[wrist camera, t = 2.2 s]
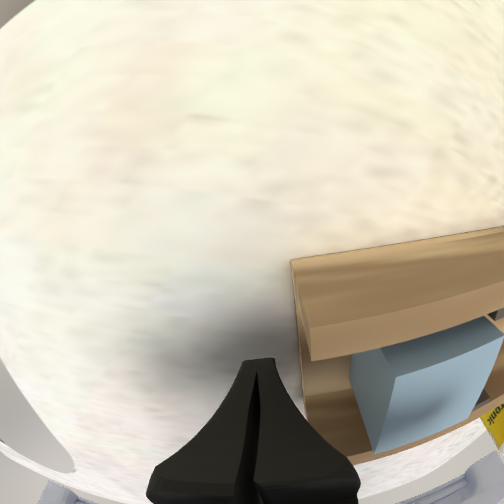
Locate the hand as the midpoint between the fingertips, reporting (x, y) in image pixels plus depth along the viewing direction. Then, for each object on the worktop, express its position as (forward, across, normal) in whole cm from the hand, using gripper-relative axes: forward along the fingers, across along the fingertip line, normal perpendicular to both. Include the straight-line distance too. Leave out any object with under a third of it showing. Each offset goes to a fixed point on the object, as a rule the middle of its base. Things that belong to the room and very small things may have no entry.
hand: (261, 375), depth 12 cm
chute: (+2, -11, 0) cm, 12 cm away
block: (+1, -7, 0) cm, 7 cm away
